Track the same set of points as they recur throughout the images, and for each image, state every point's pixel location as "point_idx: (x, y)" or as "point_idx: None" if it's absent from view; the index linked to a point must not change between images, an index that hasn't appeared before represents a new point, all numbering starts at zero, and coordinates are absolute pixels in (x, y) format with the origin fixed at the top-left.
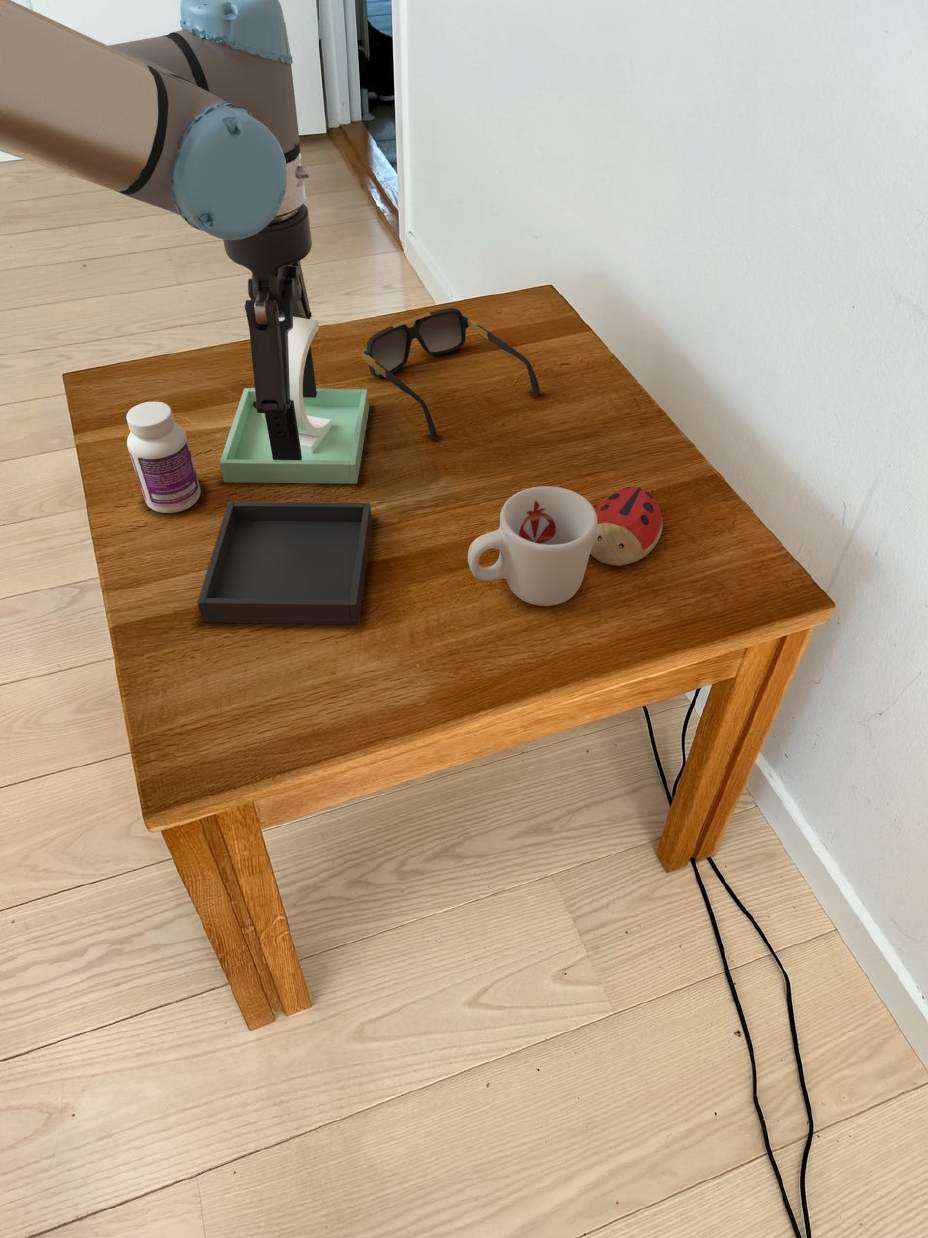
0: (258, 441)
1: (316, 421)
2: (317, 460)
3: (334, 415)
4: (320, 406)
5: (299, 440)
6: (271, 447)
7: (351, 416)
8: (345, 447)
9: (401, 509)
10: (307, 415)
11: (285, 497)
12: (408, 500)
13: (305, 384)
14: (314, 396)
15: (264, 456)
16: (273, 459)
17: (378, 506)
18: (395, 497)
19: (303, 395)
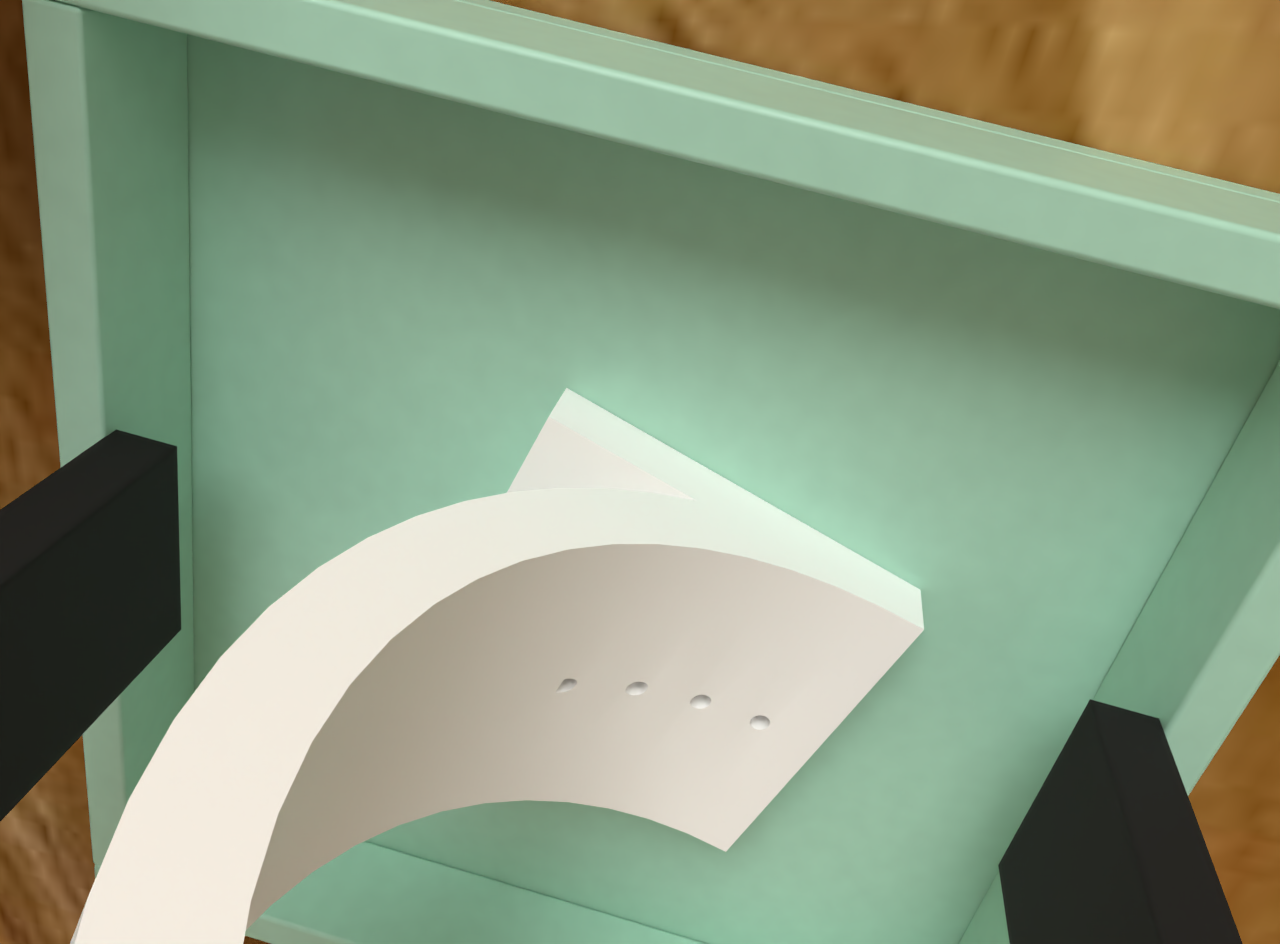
0: (646, 289)
1: (719, 772)
2: (115, 719)
3: (866, 850)
4: (1028, 799)
5: (78, 736)
6: (19, 504)
7: (822, 927)
8: (475, 822)
9: (5, 889)
10: (833, 730)
11: (35, 390)
12: (72, 928)
13: (1048, 924)
14: (1001, 865)
15: (426, 317)
16: (103, 442)
17: (14, 815)
18: (89, 892)
19: (1045, 803)
